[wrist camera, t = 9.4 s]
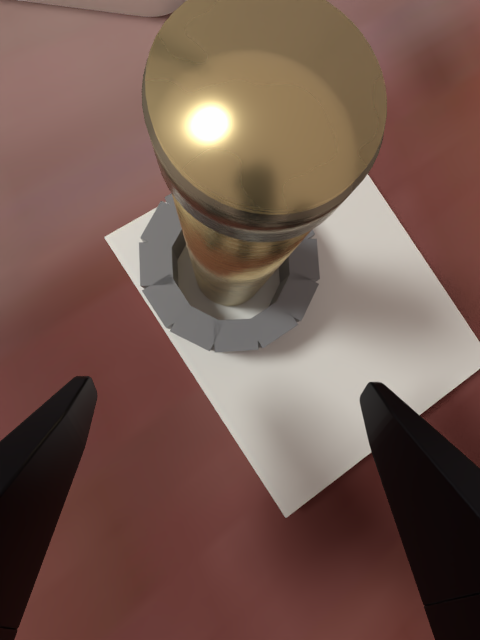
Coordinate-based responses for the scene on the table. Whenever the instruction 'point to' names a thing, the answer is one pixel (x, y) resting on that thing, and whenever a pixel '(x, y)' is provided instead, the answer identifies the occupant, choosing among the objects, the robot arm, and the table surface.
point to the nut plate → (307, 337)
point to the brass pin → (259, 129)
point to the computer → (120, 6)
